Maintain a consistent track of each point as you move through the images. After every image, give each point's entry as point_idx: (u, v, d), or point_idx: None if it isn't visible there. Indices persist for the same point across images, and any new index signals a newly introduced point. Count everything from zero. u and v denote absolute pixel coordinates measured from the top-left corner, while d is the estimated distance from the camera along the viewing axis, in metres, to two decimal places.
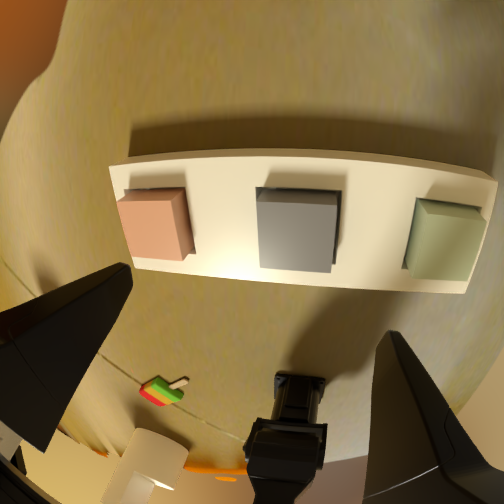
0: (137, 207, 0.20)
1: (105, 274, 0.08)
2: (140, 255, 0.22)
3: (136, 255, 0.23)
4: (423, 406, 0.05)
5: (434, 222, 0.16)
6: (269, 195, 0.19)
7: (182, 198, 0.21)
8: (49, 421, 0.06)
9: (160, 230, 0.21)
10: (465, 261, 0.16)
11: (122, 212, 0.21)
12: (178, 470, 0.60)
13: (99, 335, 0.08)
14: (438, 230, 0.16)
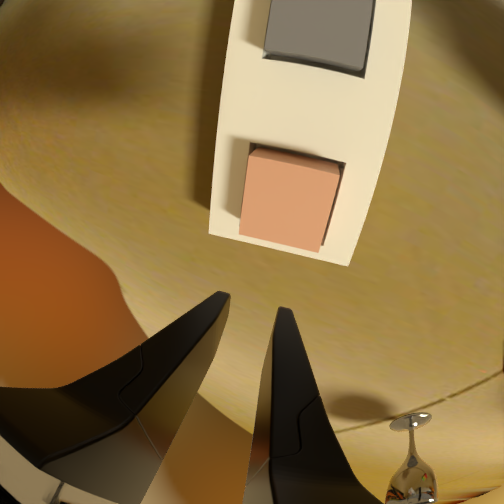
0: (250, 206, 0.17)
1: (211, 308, 0.08)
2: (319, 237, 0.17)
3: (318, 243, 0.17)
4: (278, 386, 0.06)
5: None
6: None
7: (264, 151, 0.16)
8: (149, 477, 0.06)
9: (288, 187, 0.15)
10: None
11: (253, 232, 0.17)
12: None
13: (201, 375, 0.08)
14: None
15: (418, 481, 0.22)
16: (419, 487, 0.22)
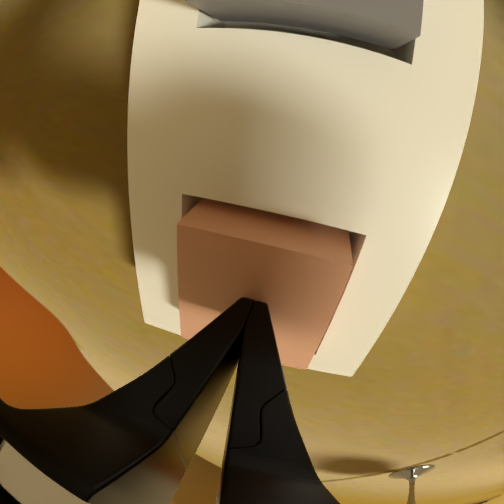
0: (192, 304, 0.10)
1: (237, 315, 0.08)
2: (308, 353, 0.10)
3: (306, 360, 0.10)
4: (243, 378, 0.06)
5: None
6: None
7: (213, 204, 0.09)
8: (174, 487, 0.05)
9: (252, 283, 0.08)
10: None
11: None
12: None
13: (226, 382, 0.08)
14: None
15: None
16: None
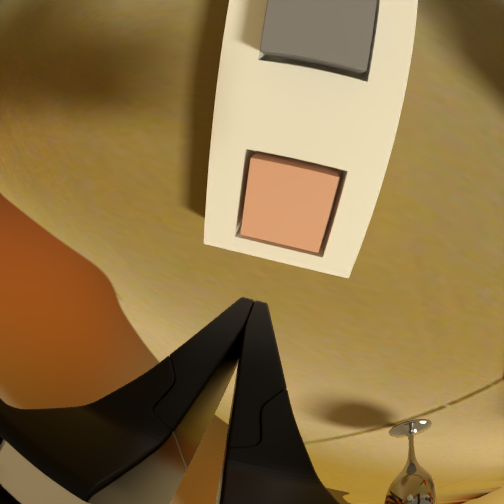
0: (252, 207, 0.17)
1: (237, 315, 0.08)
2: (319, 237, 0.17)
3: (318, 244, 0.17)
4: (243, 378, 0.06)
5: None
6: None
7: (265, 153, 0.17)
8: (174, 487, 0.05)
9: (288, 189, 0.16)
10: None
11: (255, 232, 0.18)
12: None
13: (226, 382, 0.08)
14: None
15: (417, 488, 0.22)
16: (418, 494, 0.21)
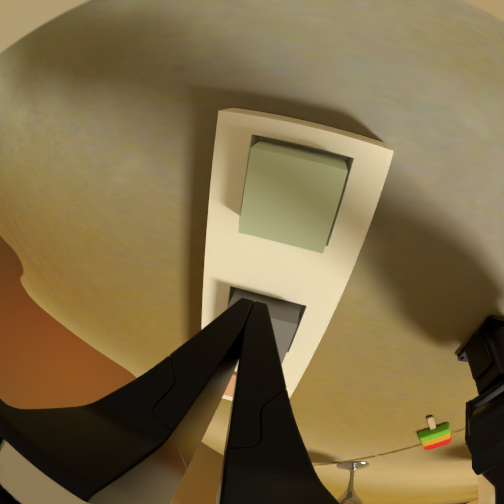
0: None
1: (237, 315, 0.08)
2: None
3: None
4: (243, 378, 0.06)
5: (248, 224, 0.16)
6: None
7: None
8: (174, 487, 0.05)
9: None
10: (310, 177, 0.14)
11: (228, 394, 0.30)
12: None
13: (226, 382, 0.08)
14: (259, 220, 0.16)
15: None
16: None
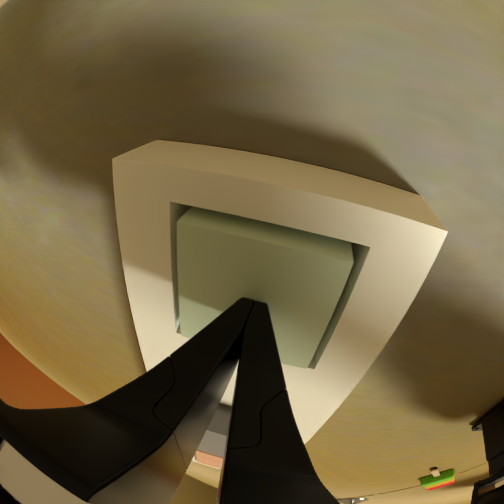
0: (201, 459, 0.22)
1: (237, 315, 0.08)
2: None
3: None
4: (243, 378, 0.06)
5: (193, 329, 0.10)
6: None
7: None
8: (174, 487, 0.05)
9: (221, 461, 0.21)
10: (284, 273, 0.08)
11: (205, 463, 0.23)
12: None
13: (226, 382, 0.08)
14: None
15: None
16: None
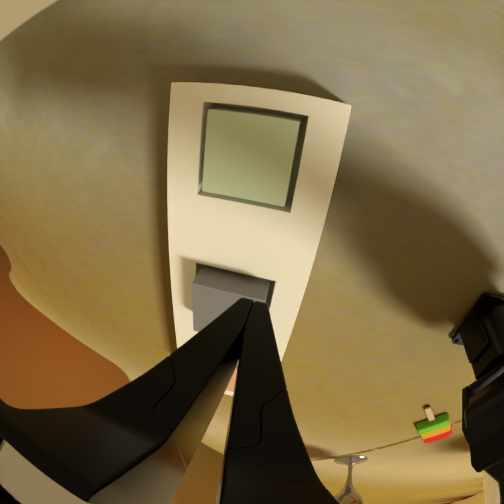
0: None
1: (237, 315, 0.08)
2: None
3: None
4: (243, 378, 0.06)
5: (211, 182, 0.17)
6: None
7: None
8: (174, 487, 0.05)
9: None
10: (264, 131, 0.14)
11: None
12: None
13: (226, 382, 0.08)
14: (220, 177, 0.16)
15: None
16: None
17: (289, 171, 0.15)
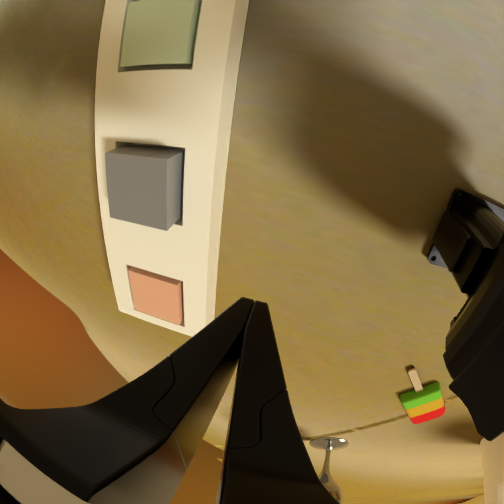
0: (136, 296, 0.26)
1: (237, 315, 0.08)
2: (177, 316, 0.26)
3: (177, 320, 0.26)
4: (243, 378, 0.06)
5: (127, 57, 0.14)
6: None
7: None
8: (174, 487, 0.05)
9: (152, 289, 0.24)
10: (168, 6, 0.12)
11: (142, 309, 0.26)
12: None
13: (226, 382, 0.08)
14: (134, 50, 0.14)
15: None
16: None
17: (188, 31, 0.13)
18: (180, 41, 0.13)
